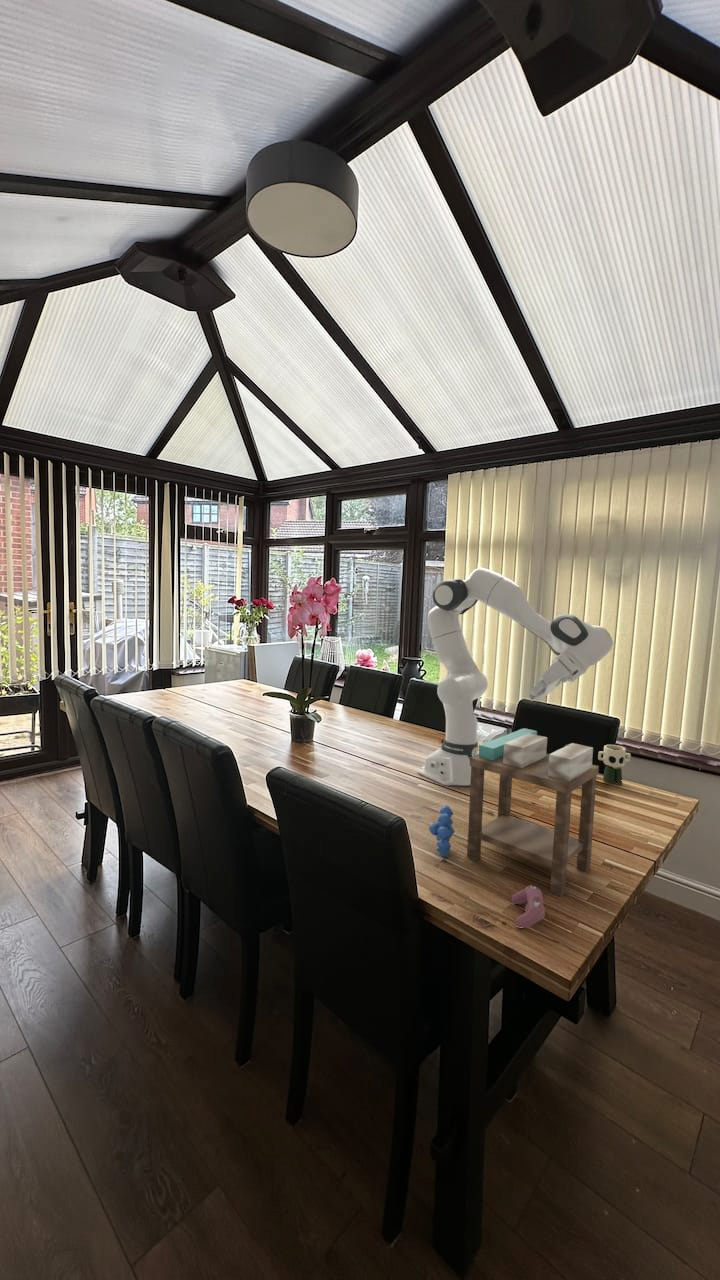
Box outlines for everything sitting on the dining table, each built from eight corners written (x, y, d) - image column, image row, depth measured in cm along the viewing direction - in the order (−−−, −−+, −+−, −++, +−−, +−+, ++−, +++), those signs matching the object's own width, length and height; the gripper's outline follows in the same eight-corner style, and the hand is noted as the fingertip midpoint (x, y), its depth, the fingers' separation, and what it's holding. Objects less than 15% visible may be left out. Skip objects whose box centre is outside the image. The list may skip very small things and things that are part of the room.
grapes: (430, 839, 144) (431, 797, 142) (455, 843, 142) (457, 800, 141) (424, 860, 132) (426, 814, 131) (452, 864, 131) (453, 818, 130)
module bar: (478, 756, 134) (479, 745, 133) (523, 738, 151) (523, 728, 150) (492, 760, 131) (493, 748, 130) (536, 741, 148) (537, 731, 148)
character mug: (599, 785, 187) (602, 749, 186) (593, 777, 194) (596, 743, 193) (632, 787, 186) (634, 751, 184) (624, 780, 193) (627, 745, 191)
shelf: (465, 856, 135) (470, 738, 132) (500, 833, 148) (506, 725, 145) (561, 897, 118) (570, 762, 115) (591, 867, 131) (600, 746, 128)
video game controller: (533, 939, 106) (551, 912, 105) (512, 927, 106) (530, 899, 105) (527, 910, 115) (544, 885, 114) (509, 899, 116) (525, 873, 115)
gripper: (556, 668, 172) (522, 694, 172) (562, 651, 153) (524, 681, 154) (570, 682, 170) (536, 709, 170) (577, 668, 151) (539, 698, 151)
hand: (530, 696), depth 162 cm, fingers open, 8 cm apart
